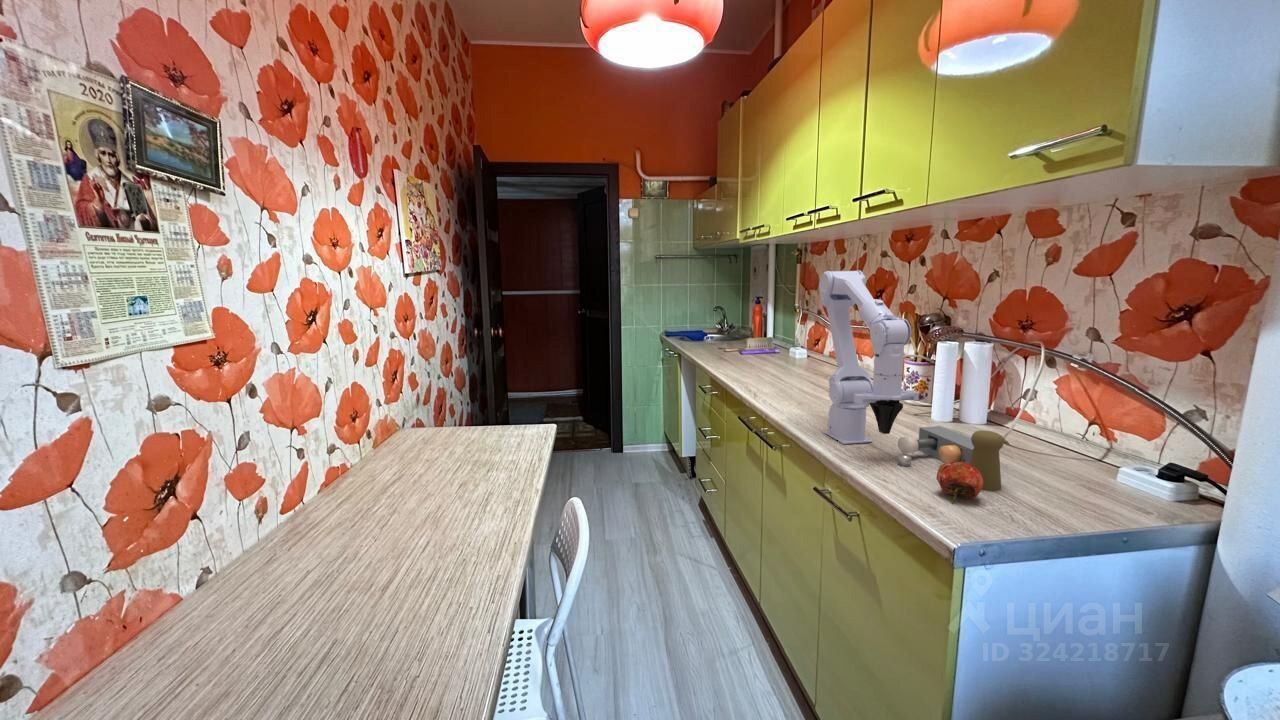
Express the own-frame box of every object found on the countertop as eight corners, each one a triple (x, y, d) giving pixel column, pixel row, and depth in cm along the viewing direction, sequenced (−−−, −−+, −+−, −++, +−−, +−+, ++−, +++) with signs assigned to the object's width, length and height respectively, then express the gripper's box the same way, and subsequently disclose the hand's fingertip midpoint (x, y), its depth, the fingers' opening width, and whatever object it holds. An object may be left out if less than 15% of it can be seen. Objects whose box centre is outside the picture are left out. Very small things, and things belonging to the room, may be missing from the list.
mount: (917, 449, 119) (919, 427, 118) (938, 447, 119) (940, 426, 118) (971, 475, 103) (973, 450, 102) (994, 473, 104) (997, 448, 103)
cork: (1008, 491, 95) (1014, 436, 93) (977, 491, 95) (982, 437, 94) (987, 478, 101) (993, 427, 99) (958, 478, 101) (962, 427, 100)
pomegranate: (979, 520, 89) (995, 476, 93) (967, 495, 86) (985, 451, 90) (935, 509, 95) (953, 468, 99) (922, 486, 92) (941, 445, 96)
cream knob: (897, 449, 115) (898, 435, 114) (934, 447, 116) (935, 432, 115) (907, 455, 111) (908, 440, 110) (945, 452, 112) (946, 437, 112)
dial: (895, 463, 110) (895, 454, 110) (905, 462, 111) (906, 453, 110) (903, 467, 108) (903, 458, 108) (913, 466, 108) (914, 457, 108)
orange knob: (938, 459, 108) (939, 443, 108) (976, 456, 110) (977, 440, 109) (950, 465, 105) (952, 449, 104) (989, 461, 106) (991, 446, 106)
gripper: (868, 378, 104) (865, 440, 106) (930, 375, 106) (925, 435, 108) (849, 372, 111) (846, 430, 113) (908, 369, 113) (904, 426, 115)
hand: (884, 432), depth 111 cm, fingers closed
